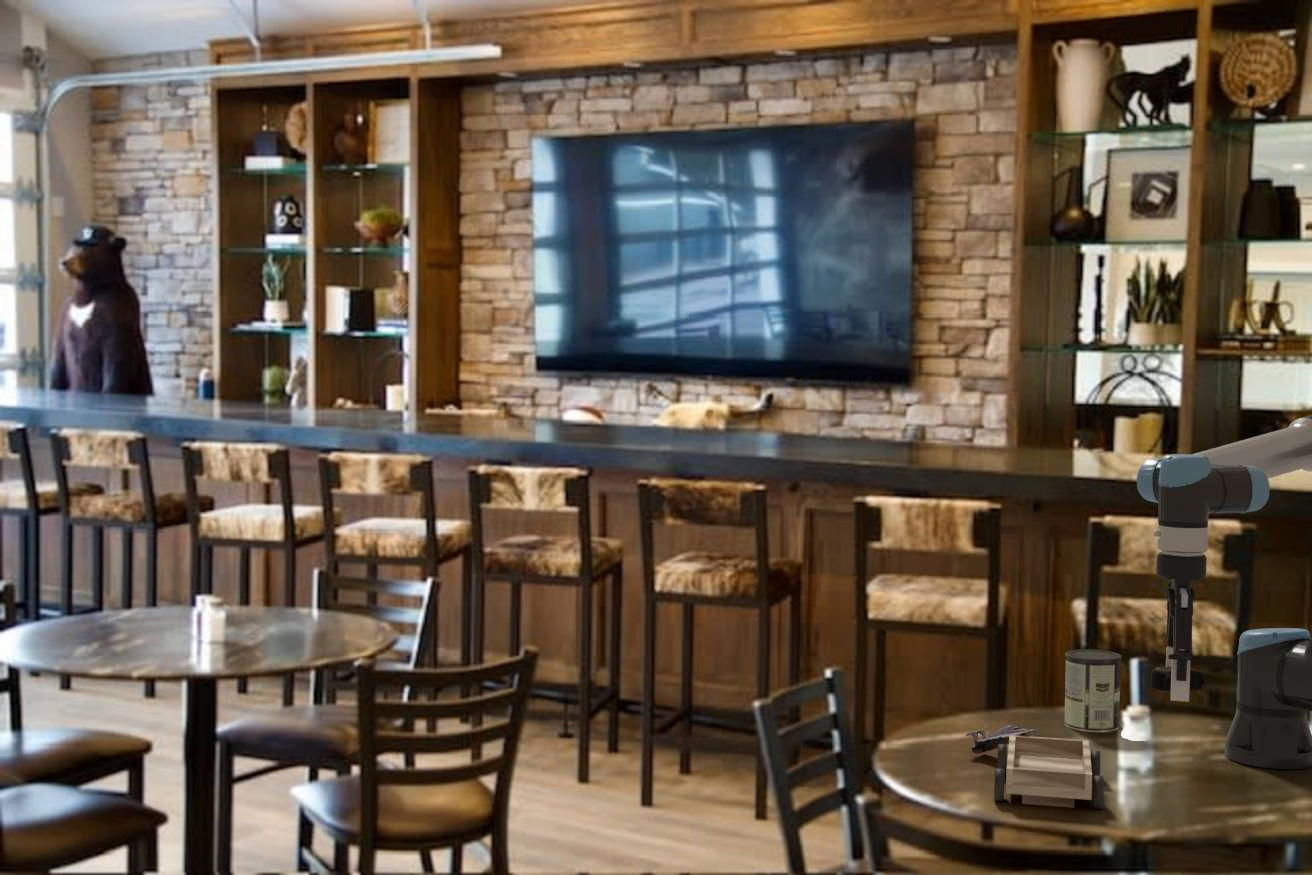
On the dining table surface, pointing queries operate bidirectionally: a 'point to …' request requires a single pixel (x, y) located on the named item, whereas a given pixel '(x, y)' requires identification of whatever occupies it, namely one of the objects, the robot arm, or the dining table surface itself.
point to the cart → (1049, 771)
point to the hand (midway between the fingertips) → (1176, 693)
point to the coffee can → (1092, 690)
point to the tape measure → (1163, 679)
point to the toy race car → (997, 738)
